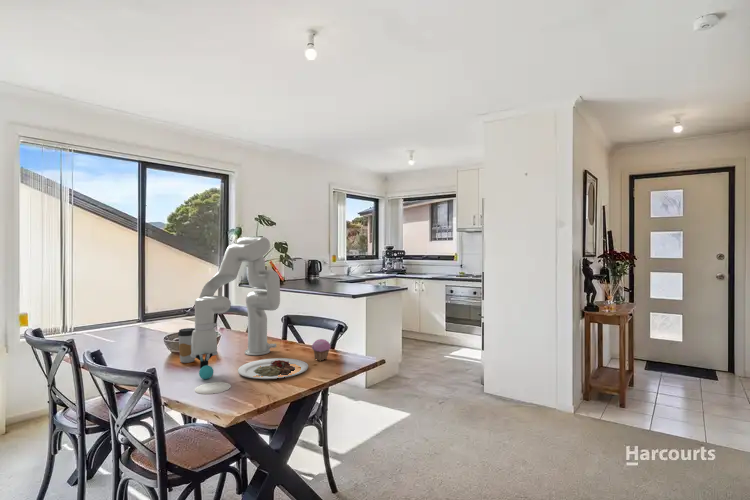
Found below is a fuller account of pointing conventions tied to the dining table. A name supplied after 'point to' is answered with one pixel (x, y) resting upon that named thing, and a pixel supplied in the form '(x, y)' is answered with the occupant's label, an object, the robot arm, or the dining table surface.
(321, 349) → the cupcake
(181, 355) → the coffee cup
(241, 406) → the dining table surface
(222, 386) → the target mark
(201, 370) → the ball
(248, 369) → the plated food
